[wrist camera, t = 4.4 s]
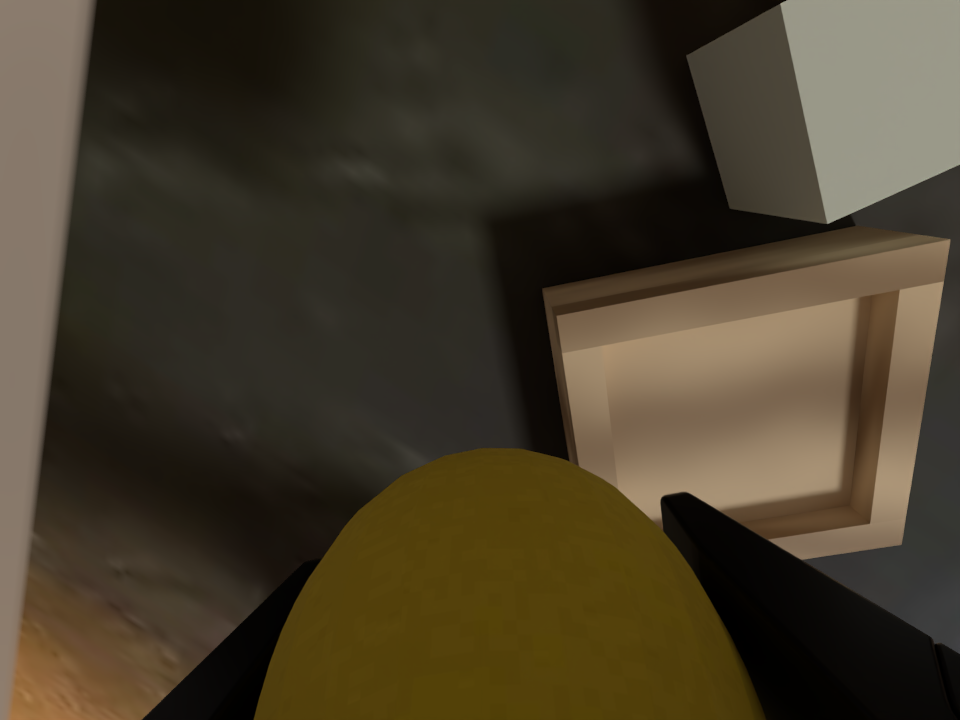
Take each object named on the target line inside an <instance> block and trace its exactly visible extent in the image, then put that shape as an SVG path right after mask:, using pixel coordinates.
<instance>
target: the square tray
mask: <svg viewBox="0 0 960 720" xmlns="http://www.w3.org/2000/svg"><path fill="white" fill-rule="evenodd" d="M949 246H950V239H944V238H937V237H930V236H924V235H917V234H910V233H903V232H896V231H889V230H883V229H876V228H869V227H862V226H853V227H848V228H843V229H838V230H833V231H828V232H823V233H818V234H813V235H808V236H803V237H798V238H793V239H788V240H783V241H778V242H773V243H768V244H763V245H758V246H753V247H748V248H743V249H738V250H733V251H728V252H723V253H718V254H713V255H708V256H703V257H698V258H693V259H688V260H683V261H678V262H673V263H667V264H662V265H657V266H652V267H647V268H642V269H637V270H632V271H627V272H622V273H617V274H612V275H607V276H602V277H597V278H592V279H587V280H582V281H577V282H572V283H567V284H562V285H557V286H552V287H547V288H542V292H543V298H544V304H545V311H546V317H547V323H548V330H549V336H550V342H551V349H552V355H553V361H554V368H555V374H556V380H557V387H558V393H559V399H560V406H561V412H562V418H563V425H564V431H565V437H566V444H567V450H568V456H569V462H571V463H573V464H575V465H577V466H579V467H581V468H583V469H585V470H587V471H589V472H591V473H593V474H594V475H596V476H598V477H600V478H602V479H604V480H605V481H607V482H608V483H610V484H611V485H613V486H614V487H616V488H617V489H618V490H619V491H620V492H621V493H623V494H624V495H625V496H626V497H627V498H628V499H629V500H630V501H631V502H632V503H634V504H635V505H636V506H637V507H638V508H639V509H640V510H641V511H642V512H644V513H645V514H646V515H647V516H648V517H649V518H650V519H651V520H652V521H653V522H654V523H655V524H656V525H657V526H658V527H659V528H661V530H662V531H663V524H662V515H661V506H660V500H661V497H662V496H663V495H667V494H673V493H678V492H688V493H690V494H692V495H694V496H696V497H697V498H699V499H701V500H702V501H704V502H706V503H707V504H709V505H711V506H712V507H714V508H716V509H717V510H719V511H721V512H722V513H724V514H726V515H727V516H729V517H731V518H732V519H734V520H736V521H737V522H739V523H741V524H742V525H744V526H746V527H747V528H749V529H751V530H752V531H754V532H756V533H757V534H759V535H761V536H762V537H764V538H766V539H768V540H769V541H771V542H773V543H774V544H776V545H778V546H779V547H781V548H783V549H784V550H786V551H788V552H789V553H791V554H793V555H794V556H796V557H798V558H799V559H801V560H802V559H809V558H816V557H822V556H829V555H835V554H842V553H849V552H855V551H862V550H869V549H875V548H882V547H889V546H895V545H901V544H902V538H903V532H904V525H905V519H906V513H907V507H908V501H909V494H910V488H911V482H912V476H913V469H914V463H915V457H916V451H917V445H918V438H919V432H920V426H921V420H922V414H923V407H924V401H925V395H926V389H927V382H928V376H929V370H930V364H931V358H932V351H933V345H934V339H935V333H936V326H937V320H938V314H939V308H940V302H941V295H942V289H943V283H944V277H945V271H946V264H947V258H948V252H949Z"/></svg>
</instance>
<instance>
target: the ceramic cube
mask: <svg viewBox="0 0 960 720" xmlns="http://www.w3.org/2000/svg"><path fill="white" fill-rule="evenodd" d="M686 57H687V60H688V64H689V67H690V71H691V74H692V78H693V81H694V85H695V88H696V92H697V95H698V99H699V102H700V106H701V109H702V113H703V116H704V120H705V123H706V127H707V130H708V134H709V138H710V141H711V145H712V148H713V152H714V155H715V159H716V162H717V166H718V169H719V173H720V176H721V180H722V183H723V187H724V190H725V194H726V197H727V201H728V204H729V208H730V209H735V210H741V211H748V212H754V213H760V214H767V215H773V216H779V217H786V218H792V219H799V220H805V221H811V222H818V223H824V224H829V223H831V222H833V221H835V220H837V219H840V218H842V217H844V216H846V215H849V214H851V213H853V212H855V211H857V210H860V209H862V208H864V207H866V206H869V205H871V204H873V203H875V202H877V201H880V200H882V199H884V198H886V197H889V196H891V195H893V194H895V193H897V192H900V191H902V190H904V189H906V188H909V187H911V186H913V185H915V184H917V183H920V182H922V181H924V180H926V179H928V178H931V177H933V176H935V175H937V174H940V173H942V172H944V171H946V170H948V169H951V168H953V167H955V166H957V165H960V0H786V1H785V2H783V3H781V4H779V5H777V6H775V7H774V8H772V9H770V10H768V11H766V12H764V13H763V14H761V15H759V16H757V17H755V18H754V19H752V20H750V21H748V22H746V23H745V24H743V25H741V26H739V27H737V28H736V29H734V30H732V31H730V32H728V33H726V34H725V35H723V36H721V37H719V38H717V39H716V40H714V41H712V42H710V43H708V44H707V45H705V46H703V47H701V48H699V49H698V50H696V51H694V52H692V53H690V54H688V55H687V56H686Z"/></svg>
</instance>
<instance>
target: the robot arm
mask: <svg viewBox="0 0 960 720" xmlns="http://www.w3.org/2000/svg"><path fill="white" fill-rule="evenodd" d="M660 506H661V515H662V524H663V532H664V533H665V534H666V535H667V537H668V538H669V539H670V540H671V541H672V542H673V544H674V545H675V546H676V547H677V549H678V550H679V551H680V553H681V554H682V556H683V557H684V559H685V560H686V561H687V563H688V564H689V566H690V567H691V569H692V570H693V572H694V574H695V575H696V577H697V579H698V580H699V582H700V584H701V586H702V587H703V589H704V591H705V592H706V594H707V596H708V597H709V599H710V601H711V603H712V604H713V606H714V608H715V609H716V611H717V613H718V615H719V616H720V618H721V620H722V621H723V623H724V625H725V627H726V628H727V630H728V632H729V634H730V635H731V637H732V639H733V642H734V644H735V646H736V648H737V650H738V652H739V654H740V656H741V658H742V660H743V662H744V664H745V666H746V668H747V671H748V673H749V676H750V678H751V681H752V683H753V686H754V688H755V691H756V693H757V696H758V698H759V701H760V703H761V706H762V708H763V711H764V714H765V717H766V720H960V654H959V653H957V652H955V651H954V650H952V649H950V648H949V647H947V646H945V645H944V644H942V643H937V644H934V640H933V639H932V638H931V637H930V636H928V635H926V634H925V633H923V632H921V631H920V630H918V629H916V628H915V627H913V626H911V625H910V624H908V623H906V622H905V621H903V620H901V619H900V618H898V617H896V616H895V615H893V614H891V613H890V612H888V611H886V610H885V609H883V608H881V607H880V606H878V605H876V604H875V603H873V602H871V601H870V600H868V599H866V598H865V597H863V596H861V595H860V594H858V593H856V592H855V591H853V590H851V589H850V588H848V587H846V586H844V585H843V584H841V583H839V582H838V581H836V580H834V579H833V578H831V577H829V576H828V575H826V574H824V573H823V572H821V571H819V570H818V569H816V568H814V567H813V566H811V565H809V564H808V563H806V562H804V561H803V560H801V559H799V558H798V557H796V556H794V555H793V554H791V553H789V552H788V551H786V550H784V549H783V548H781V547H779V546H778V545H776V544H774V543H773V542H771V541H769V540H768V539H766V538H764V537H762V536H761V535H759V534H757V533H756V532H754V531H752V530H751V529H749V528H747V527H746V526H744V525H742V524H741V523H739V522H737V521H736V520H734V519H732V518H731V517H729V516H727V515H726V514H724V513H722V512H721V511H719V510H717V509H716V508H714V507H712V506H711V505H709V504H707V503H706V502H704V501H702V500H701V499H699V498H697V497H696V496H694V495H692V494H690V493H688V492H678V493H673V494H667V495H663V496H662V497H661V500H660ZM321 560H322V559H316V560H311V561H307V562H305V563H303V564H302V565H301V566H300V567H299V568H298V569H297V570H296V571H295V572H294V573H293V574H292V575H290V576H289V577H288V578H287V579H286V580H285V581H284V582H283V583H282V584H281V585H280V586H279V587H278V588H277V589H276V590H275V591H274V592H273V593H272V594H271V595H270V596H269V597H268V598H267V599H266V600H265V601H264V602H263V603H262V604H261V605H260V606H259V607H258V608H257V609H255V610H254V611H253V612H252V613H251V614H250V615H249V616H248V617H247V618H246V619H245V620H244V621H243V622H242V623H241V624H240V625H239V626H238V627H237V628H236V629H235V630H234V631H233V632H232V633H231V634H230V635H229V636H228V637H227V638H226V639H225V640H224V641H223V642H222V643H220V644H219V645H218V646H217V647H216V648H215V649H214V650H213V651H212V652H211V653H210V654H209V655H208V656H207V657H206V658H205V659H204V660H203V661H202V662H201V663H200V664H199V665H198V666H197V667H196V668H195V669H194V670H193V671H192V672H191V673H190V674H189V675H188V676H186V677H185V678H184V679H183V680H182V681H181V682H180V683H179V684H178V685H177V686H176V687H175V688H174V689H173V690H172V691H171V692H170V693H169V694H168V695H167V696H166V697H165V698H164V699H163V700H162V701H161V702H160V703H159V704H158V705H157V706H156V707H155V708H153V709H152V710H151V711H150V712H149V713H148V714H147V715H146V716H145V717H144V718H143V719H142V720H254V716H255V712H256V708H257V705H258V701H259V697H260V694H261V691H262V687H263V684H264V681H265V677H266V674H267V670H268V667H269V664H270V661H271V658H272V655H273V653H274V650H275V647H276V645H277V642H278V639H279V637H280V634H281V631H282V629H283V627H284V625H285V622H286V620H287V618H288V616H289V614H290V612H291V610H292V607H293V605H294V603H295V601H296V599H297V598H298V596H299V594H300V592H301V591H302V589H303V587H304V585H305V584H306V582H307V580H308V578H309V577H310V576H311V574H312V573H313V571H314V570H315V568H316V567H317V565H318V564H319V563H320V561H321Z"/></svg>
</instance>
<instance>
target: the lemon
mask: <svg viewBox="0 0 960 720" xmlns="http://www.w3.org/2000/svg"><path fill="white" fill-rule="evenodd" d="M254 720H766V717H765V714H764V711H763V708H762V706H761V703H760V701H759V698H758V696H757V693H756V691H755V688H754V686H753V683H752V681H751V678H750V676H749V673H748V671H747V668H746V666H745V664H744V662H743V660H742V658H741V656H740V654H739V652H738V650H737V648H736V646H735V644H734V642H733V639H732V637H731V635H730V634H729V632H728V630H727V628H726V627H725V625H724V623H723V621H722V620H721V618H720V616H719V615H718V613H717V611H716V609H715V608H714V606H713V604H712V603H711V601H710V599H709V597H708V596H707V594H706V592H705V591H704V589H703V587H702V586H701V584H700V582H699V580H698V579H697V577H696V575H695V574H694V572H693V570H692V569H691V567H690V566H689V564H688V563H687V561H686V560H685V559H684V557H683V556H682V554H681V553H680V551H679V550H678V549H677V547H676V546H675V545H674V544H673V542H672V541H671V540H670V539H669V538H668V537H667V535H666V534H665V533H664V532H663V531H662V530H661V528H659V527H658V526H657V525H656V524H655V523H654V522H653V521H652V520H651V519H650V518H649V517H648V516H647V515H646V514H645V513H644V512H642V511H641V510H640V509H639V508H638V507H637V506H636V505H635V504H634V503H632V502H631V501H630V500H629V499H628V498H627V497H626V496H625V495H624V494H623V493H621V492H620V491H619V490H618V489H617V488H616V487H614V486H613V485H611V484H610V483H608V482H607V481H605V480H604V479H602V478H600V477H598V476H596V475H594V474H593V473H591V472H589V471H587V470H585V469H583V468H581V467H579V466H577V465H575V464H573V463H571V462H569V461H567V460H564V459H561V458H558V457H554V456H550V455H545V454H541V453H537V452H533V451H529V450H524V449H506V448H481V449H476V450H471V451H466V452H461V453H456V454H451V455H446V456H443V457H441V458H439V459H437V460H434V461H432V462H430V463H428V464H426V465H424V466H421V467H419V468H417V469H415V470H413V471H411V472H408V473H406V474H404V475H402V476H401V477H399V478H398V479H397V480H396V481H394V482H393V483H392V484H391V485H389V486H388V487H387V488H386V489H384V490H383V491H382V492H381V493H380V494H378V495H377V496H376V497H375V498H373V499H372V500H371V501H370V502H368V503H367V504H366V505H365V506H363V507H362V508H361V509H360V510H359V511H358V512H357V513H356V514H355V515H354V516H353V517H352V518H351V520H350V521H349V522H348V523H347V524H346V525H345V527H344V528H343V530H342V531H341V533H340V534H339V535H338V537H337V538H336V540H335V541H334V543H333V544H332V545H331V547H330V548H329V550H328V551H327V553H326V554H325V555H324V557H323V558H322V560H321V561H320V563H319V564H318V565H317V567H316V568H315V570H314V571H313V573H312V574H311V576H310V577H309V578H308V580H307V582H306V584H305V585H304V587H303V589H302V591H301V592H300V594H299V596H298V598H297V599H296V601H295V603H294V605H293V607H292V610H291V612H290V614H289V616H288V618H287V620H286V622H285V625H284V627H283V629H282V631H281V634H280V637H279V639H278V642H277V645H276V647H275V650H274V653H273V655H272V658H271V661H270V664H269V667H268V670H267V674H266V677H265V681H264V684H263V687H262V691H261V694H260V697H259V701H258V705H257V708H256V712H255V716H254Z"/></svg>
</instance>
